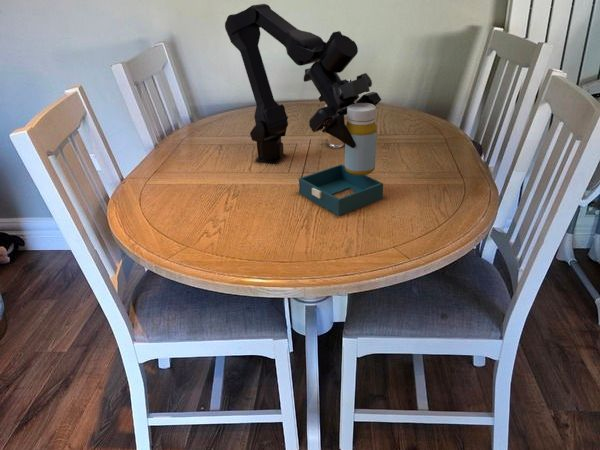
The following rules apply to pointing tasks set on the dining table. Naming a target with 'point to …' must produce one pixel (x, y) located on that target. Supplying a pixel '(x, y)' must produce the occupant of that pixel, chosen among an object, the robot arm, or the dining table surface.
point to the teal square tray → (340, 189)
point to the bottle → (361, 139)
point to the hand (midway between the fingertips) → (365, 142)
